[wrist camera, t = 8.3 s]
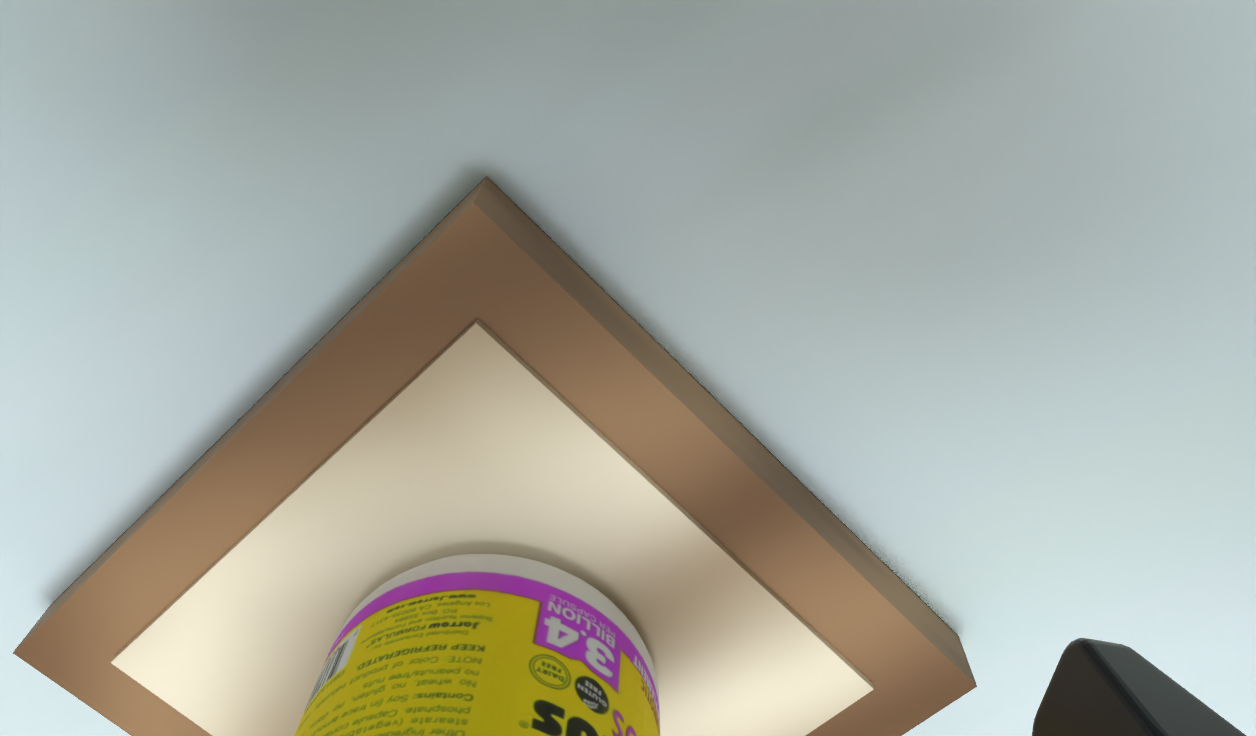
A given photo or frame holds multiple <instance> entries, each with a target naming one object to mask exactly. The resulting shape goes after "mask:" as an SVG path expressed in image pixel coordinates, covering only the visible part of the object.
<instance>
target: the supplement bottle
mask: <svg viewBox="0 0 1256 736" xmlns="http://www.w3.org/2000/svg"><path fill="white" fill-rule="evenodd" d="M294 736H660V712H659V689H658V681H657V677H656V673H655V669H654V666H653V663H652V659H651V657H650V655H649V653H648V650H647V648H646V646H645V644H644V642H643V641H642V639H641V637H640V635H639V634H638V632H637V631H636V629H635V627H634V626H633V625H632V624H631V622H630V621H629V620H628V619H627V617H626V616H625V615H624V614H623V613H622V612H621V611H620V609H618V608H617V607H616V606H615V605H614V604H613V603H612V601H611V600H609V599H608V598H607V597H606V596H604V595H603V594H602V593H601V592H600V591H598V590H597V589H595V588H594V587H592V586H591V585H589V584H588V583H586V582H584V581H583V580H581V579H580V578H577V577H575V576H573V575H571V574H569V573H567V572H565V571H563V570H561V569H558V568H556V567H553V566H551V565H548V564H545V563H542V562H539V561H535V560H531V559H527V558H522V557H516V556H510V555H497V554H466V555H456V556H450V557H445V558H441V559H438V560H434V561H431V562H428V563H426V564H423V565H420V566H417V567H415V568H412V569H410V570H408V571H406V572H404V573H401V574H399V575H397V576H396V577H394V578H392V579H391V580H389V581H387V582H386V583H384V584H382V585H381V586H380V587H378V588H377V589H376V590H375V591H373V592H372V593H371V594H370V595H369V596H368V597H367V598H365V599H364V600H363V601H362V602H361V603H360V604H359V605H358V606H357V608H356V609H355V610H354V611H353V612H352V613H351V615H350V616H349V617H348V619H347V620H346V622H345V623H344V625H343V627H342V628H341V630H340V632H339V634H338V635H337V637H336V639H335V641H334V643H333V646H332V648H331V650H330V652H329V654H328V656H327V658H326V660H325V663H324V665H323V667H322V670H321V672H320V675H319V677H318V679H317V682H316V684H315V686H314V689H313V691H312V694H311V696H310V699H309V701H308V704H307V706H306V708H305V711H304V713H303V715H302V717H301V720H300V723H299V725H298V727H297V730H296V732H295V734H294Z"/></svg>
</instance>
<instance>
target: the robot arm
mask: <svg viewBox="0 0 1256 736" xmlns="http://www.w3.org/2000/svg"><path fill="white" fill-rule="evenodd" d="M1032 736H1246V735H1245V734H1243V733H1242V732H1241V731H1239V730H1238V729H1237V728H1235V727H1234V726H1233V725H1232V724H1230V723H1229V722H1228V721H1226V720H1225V719H1224V718H1222V717H1221V716H1220V715H1218V714H1217V713H1216V712H1214V711H1213V710H1212V709H1210V708H1209V707H1208V706H1207V705H1205V704H1204V703H1203V702H1201V701H1200V700H1199V699H1197V698H1196V697H1195V696H1193V695H1192V694H1191V693H1189V692H1188V691H1187V690H1185V689H1184V688H1183V687H1182V686H1180V685H1179V684H1178V683H1176V682H1175V681H1174V680H1172V679H1171V678H1170V677H1168V676H1167V675H1166V674H1164V673H1163V672H1162V671H1160V670H1159V669H1158V668H1156V667H1155V666H1154V665H1153V664H1151V663H1150V662H1149V661H1147V660H1146V659H1145V658H1143V657H1142V656H1141V655H1139V654H1138V653H1137V652H1135V651H1134V650H1133V649H1131V648H1130V647H1127V646H1125V645H1122V644H1117V643H1111V642H1105V641H1099V640H1093V639H1086V638H1079V639H1076V640H1074V641H1072V642H1071V643H1070V644H1069V645H1068V646H1067V647H1066V649H1065V650H1064V652H1063V654H1062V656H1061V658H1060V661H1059V663H1058V665H1057V668H1056V670H1055V672H1054V674H1053V677H1052V679H1051V681H1050V684H1049V686H1048V688H1047V690H1046V693H1045V695H1044V697H1043V700H1042V702H1041V704H1040V707H1039V709H1038V711H1037V714H1036V717H1035V720H1034V725H1033V732H1032Z"/></svg>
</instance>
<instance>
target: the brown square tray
mask: <svg viewBox="0 0 1256 736" xmlns="http://www.w3.org/2000/svg"><path fill="white" fill-rule="evenodd" d="M466 554H497V555H510V556H516V557H522V558H527V559H531V560H535V561H539V562H542V563H545V564H548V565H551V566H553V567H556V568H558V569H561V570H563V571H565V572H567V573H569V574H571V575H573V576H575V577H577V578H580V579H581V580H583V581H584V582H586V583H588V584H589V585H591V586H592V587H594V588H595V589H597V590H598V591H600V592H601V593H602V594H603V595H604V596H606V597H607V598H608V599H609V600H611V601H612V603H613V604H614V605H615V606H616V607H617V608H618V609H620V611H621V612H622V613H623V614H624V615H625V616H626V617H627V619H628V620H629V621H630V622H631V624H632V625H633V626H634V627H635V629H636V631H637V632H638V634H639V635H640V637H641V639H642V641H643V642H644V644H645V646H646V648H647V650H648V653H649V655H650V657H651V659H652V663H653V666H654V669H655V673H656V677H657V681H658V689H659V712H660V736H902V735H903V734H905V733H906V732H908V731H909V730H911V729H912V728H914V727H915V726H917V725H919V724H920V723H922V722H923V721H925V720H926V719H928V718H929V717H931V716H932V715H934V714H935V713H937V712H938V711H940V710H941V709H943V708H945V707H946V706H948V705H949V704H951V703H952V702H954V701H955V700H957V699H958V698H960V697H961V696H963V695H964V694H966V693H967V692H969V691H971V690H972V689H974V688H975V687H977V685H976V682H975V680H974V677H973V674H972V671H971V669H970V666H969V663H968V660H967V658H966V655H965V652H964V649H963V647H962V644H961V641H960V639H959V636H958V635H957V634H956V633H955V632H954V631H953V630H952V629H951V628H950V627H949V626H948V625H947V624H945V623H944V622H943V621H942V620H941V619H940V618H939V617H938V616H937V615H936V614H935V613H934V612H933V611H932V610H931V609H930V608H929V607H928V606H927V605H926V604H925V603H924V602H923V601H922V600H921V599H920V598H919V597H918V596H917V595H916V594H915V593H914V592H913V591H912V590H911V589H910V588H909V587H908V586H906V585H905V584H904V583H903V582H902V581H901V580H900V579H899V578H898V577H897V576H896V575H895V574H894V573H893V572H892V571H891V570H890V569H889V568H888V567H887V566H886V565H885V564H884V563H883V562H882V561H881V560H880V559H879V558H878V557H877V556H876V555H875V554H874V553H873V552H872V551H871V550H870V549H869V548H868V547H866V546H865V545H864V544H863V543H862V542H861V541H860V540H859V539H858V538H857V537H856V536H855V535H854V534H853V533H852V532H851V531H850V530H849V529H848V528H847V527H846V526H845V525H844V524H843V523H842V522H841V521H840V520H839V519H838V518H837V517H836V516H835V515H834V514H833V513H832V512H831V511H830V510H829V509H827V508H826V507H825V506H824V505H823V504H822V503H821V502H820V501H819V500H818V499H817V498H816V497H815V496H814V495H813V494H812V493H811V492H810V491H809V490H808V489H807V488H806V487H805V486H804V485H803V484H802V483H801V482H800V481H799V480H798V479H797V478H796V477H795V476H794V475H793V474H792V473H791V472H790V471H788V470H787V469H786V468H785V467H784V466H783V465H782V464H781V463H780V462H779V461H778V460H777V459H776V458H775V457H774V456H773V455H772V454H771V453H770V452H769V451H768V450H767V449H766V448H765V447H764V446H763V445H762V444H761V443H760V442H759V441H758V440H757V439H756V438H755V437H754V436H753V435H752V434H751V433H749V432H748V431H747V430H746V429H745V428H744V427H743V426H742V425H741V424H740V423H739V422H738V421H737V420H736V419H735V418H734V417H733V416H732V415H731V414H730V413H729V412H728V411H727V410H726V409H725V408H724V407H723V406H722V405H721V404H720V403H719V402H718V401H717V400H716V399H715V398H714V397H713V396H712V395H710V394H709V393H708V392H707V391H706V390H705V389H704V388H703V387H702V386H701V385H700V384H699V383H698V382H697V381H696V380H695V379H694V378H693V377H692V376H691V375H690V374H689V373H688V372H687V371H686V370H685V369H684V368H683V367H682V366H681V365H680V364H679V363H678V362H677V361H676V360H675V359H674V358H673V357H672V356H670V355H669V354H668V353H667V352H666V351H665V350H664V349H663V348H662V347H661V346H660V345H659V344H658V343H657V342H656V341H655V340H654V339H653V338H652V337H651V336H650V335H649V334H648V333H647V332H646V331H645V330H644V329H643V328H642V327H641V326H640V325H639V324H638V323H637V322H636V321H635V320H634V319H633V318H631V317H630V316H629V315H628V314H627V313H626V312H625V311H624V310H623V309H622V308H621V307H620V306H619V305H618V304H617V303H616V302H615V301H614V300H613V299H612V298H611V297H610V296H609V295H608V294H607V293H606V292H605V291H604V290H603V289H602V288H601V287H600V286H599V285H598V284H597V283H596V282H595V281H594V280H592V279H591V278H590V277H589V276H588V275H587V274H586V273H585V272H584V271H583V270H582V269H581V268H580V267H579V266H578V265H577V264H576V263H575V262H574V261H573V260H572V259H571V258H570V257H569V256H568V255H567V254H566V253H565V252H564V251H563V250H562V249H561V248H560V247H559V246H558V245H557V244H556V243H555V242H553V241H552V240H551V239H550V238H549V237H548V236H547V235H546V234H545V233H544V232H543V231H542V230H541V229H540V228H539V227H538V226H537V225H536V224H535V223H534V222H533V221H532V220H531V219H530V218H529V217H528V216H527V215H526V214H525V213H524V212H523V211H522V210H521V209H520V208H519V207H518V206H517V205H516V204H515V203H513V202H512V201H511V200H510V199H509V198H508V197H507V196H506V195H505V194H504V193H503V192H502V191H501V190H500V189H499V188H498V187H497V186H496V185H495V184H494V183H493V182H492V181H491V180H490V179H489V178H488V177H486V178H485V179H484V180H483V181H482V182H481V183H480V184H478V185H477V186H476V187H475V188H474V189H473V190H472V191H471V192H470V193H469V194H468V195H467V196H466V197H465V198H464V199H463V200H462V201H461V202H460V203H459V204H458V205H457V206H456V207H455V208H454V209H453V210H452V211H451V212H450V213H449V214H448V215H447V216H446V217H445V218H444V219H443V220H442V221H441V222H440V223H439V224H438V225H437V226H436V227H435V228H434V229H433V230H432V231H431V232H430V233H429V234H428V235H427V236H426V237H425V238H424V239H423V240H422V241H421V242H420V243H418V244H417V245H416V246H415V247H414V248H413V249H412V250H411V251H410V252H409V253H408V254H407V255H406V256H405V257H404V258H403V259H402V260H401V261H400V262H399V263H398V264H397V265H396V266H395V267H394V268H393V269H392V270H391V271H390V272H389V273H388V274H387V275H386V276H385V277H384V278H383V279H382V280H381V281H380V282H379V283H378V284H377V285H376V286H375V287H374V288H373V289H372V290H371V291H370V292H369V293H368V294H367V295H366V296H365V297H364V298H363V299H362V300H361V301H360V302H358V303H357V304H356V305H355V306H354V307H353V308H352V309H351V310H350V311H349V312H348V313H347V314H346V315H345V316H344V317H343V318H342V319H341V320H340V321H339V322H338V323H337V324H336V325H335V326H334V327H333V328H332V329H331V330H330V331H329V332H328V333H327V334H326V335H325V336H324V337H323V338H322V339H321V340H320V341H319V342H318V343H317V344H316V345H315V346H314V347H313V348H312V349H311V350H310V351H309V352H308V353H307V354H306V355H305V356H304V357H303V358H302V359H301V360H300V361H298V362H297V363H296V364H295V365H294V366H293V367H292V368H291V369H290V370H289V371H288V372H287V373H286V374H285V375H284V376H283V377H282V378H281V379H280V380H279V381H278V382H277V383H276V384H275V385H274V386H273V387H272V388H271V389H270V390H269V391H268V392H267V393H266V394H265V395H264V396H263V397H262V398H261V399H260V400H259V401H258V402H257V403H256V404H255V405H254V406H253V407H252V408H251V409H250V410H249V411H248V412H247V413H246V414H245V415H244V416H243V417H242V418H241V419H239V420H238V421H237V422H236V423H235V424H234V425H233V426H232V427H231V428H230V429H229V430H228V431H227V432H226V433H225V434H224V435H223V436H222V437H221V438H220V439H219V440H218V441H217V442H216V443H215V444H214V445H213V446H212V447H211V448H210V449H209V450H208V451H207V452H206V453H205V454H204V455H203V456H202V457H201V458H200V459H199V460H198V461H197V462H196V463H195V464H194V465H193V466H192V467H191V468H190V469H189V470H188V471H187V472H186V473H185V474H184V475H183V476H182V477H181V478H179V479H178V480H177V481H176V482H175V483H174V484H173V485H172V486H171V487H170V488H169V489H168V490H167V491H166V492H165V493H164V494H163V495H162V496H161V497H160V498H159V499H158V500H157V501H156V502H155V503H154V504H153V505H152V506H151V507H150V508H149V509H148V510H147V511H146V512H145V513H144V514H143V515H142V516H141V517H140V518H139V519H138V520H137V521H136V522H135V523H134V524H133V525H132V526H131V527H130V528H129V529H128V530H127V531H126V532H125V533H124V534H123V535H122V536H121V537H119V538H118V539H117V540H116V541H115V542H114V543H113V544H112V545H111V546H110V547H109V548H108V549H107V550H106V551H105V552H104V553H103V554H102V555H101V556H100V557H99V558H98V559H97V560H96V561H95V562H94V563H93V564H92V565H91V566H90V567H89V568H88V569H87V570H86V571H85V572H84V573H83V574H82V575H81V576H80V577H79V578H78V579H77V580H76V581H75V582H74V583H73V584H72V585H71V586H70V587H69V588H68V589H67V590H66V591H65V592H64V593H63V594H62V595H61V596H59V597H58V598H57V599H56V600H55V601H54V602H53V603H52V604H51V605H50V607H49V608H48V609H47V610H46V612H45V613H44V614H43V615H42V617H41V618H40V619H39V620H38V622H37V623H36V624H35V625H34V627H33V628H32V629H31V631H30V632H29V633H28V634H27V636H26V637H25V638H24V639H23V641H22V642H21V643H20V644H19V646H18V647H17V648H16V649H15V651H14V652H13V653H14V654H15V655H17V656H18V657H19V658H21V659H22V660H24V661H25V662H27V663H28V664H30V665H31V666H32V667H34V668H35V669H37V670H38V671H40V672H41V673H42V674H44V675H45V676H47V677H48V678H50V679H51V680H52V681H54V682H55V683H57V684H58V685H60V686H61V687H62V688H64V689H65V690H67V691H68V692H70V693H71V694H73V695H74V696H75V697H77V698H78V699H80V700H81V701H83V702H84V703H85V704H87V705H88V706H90V707H91V708H93V709H94V710H95V711H97V712H98V713H100V714H101V715H103V716H104V717H105V718H107V719H108V720H110V721H111V722H113V723H114V724H116V725H117V726H118V727H120V728H121V729H123V730H124V731H126V732H127V733H128V734H130V735H131V736H294V734H295V732H296V730H297V727H298V725H299V723H300V720H301V717H302V715H303V713H304V711H305V708H306V706H307V704H308V701H309V699H310V696H311V694H312V691H313V689H314V686H315V684H316V682H317V679H318V677H319V675H320V672H321V670H322V667H323V665H324V663H325V660H326V658H327V656H328V654H329V652H330V650H331V648H332V646H333V643H334V641H335V639H336V637H337V635H338V634H339V632H340V630H341V628H342V627H343V625H344V623H345V622H346V620H347V619H348V617H349V616H350V615H351V613H352V612H353V611H354V610H355V609H356V608H357V606H358V605H359V604H360V603H361V602H362V601H363V600H364V599H365V598H367V597H368V596H369V595H370V594H371V593H372V592H373V591H375V590H376V589H377V588H378V587H380V586H381V585H382V584H384V583H386V582H387V581H389V580H391V579H392V578H394V577H396V576H397V575H399V574H401V573H404V572H406V571H408V570H410V569H412V568H415V567H417V566H420V565H423V564H426V563H428V562H431V561H434V560H438V559H441V558H445V557H450V556H456V555H466Z"/></svg>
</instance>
